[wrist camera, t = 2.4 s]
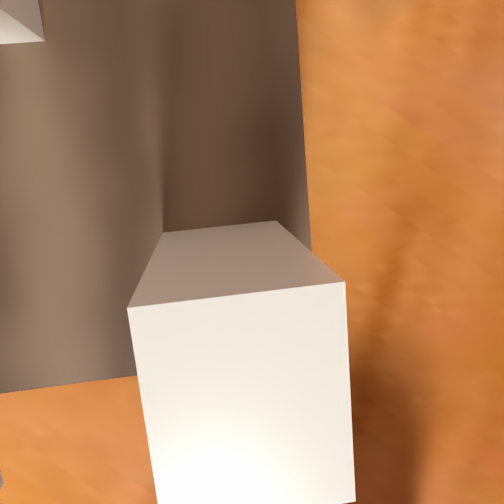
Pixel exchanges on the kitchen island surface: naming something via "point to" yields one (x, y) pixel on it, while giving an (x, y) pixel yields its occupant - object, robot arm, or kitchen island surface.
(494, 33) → the kitchen island surface
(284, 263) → the tall carton
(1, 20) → the faced carton
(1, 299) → the shelf board
